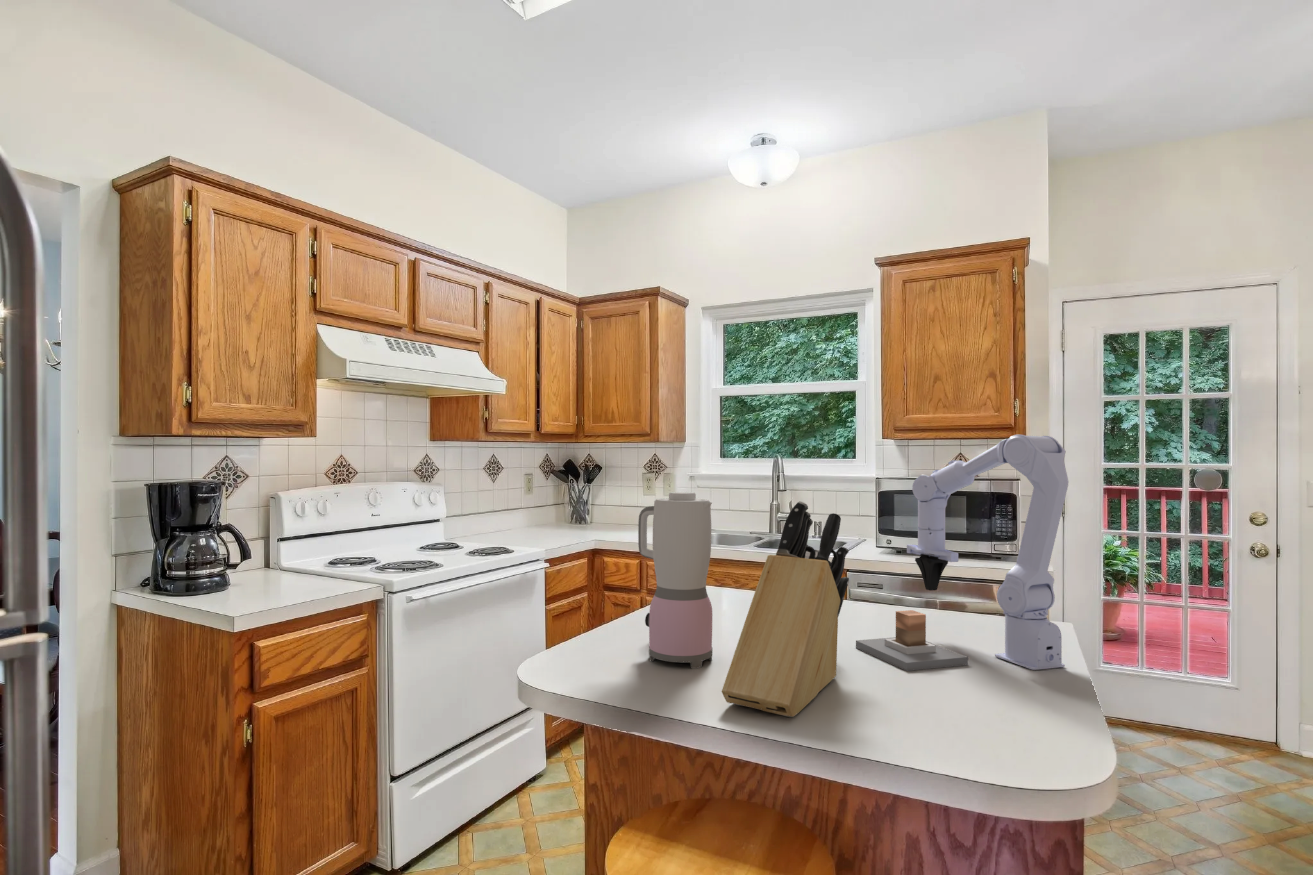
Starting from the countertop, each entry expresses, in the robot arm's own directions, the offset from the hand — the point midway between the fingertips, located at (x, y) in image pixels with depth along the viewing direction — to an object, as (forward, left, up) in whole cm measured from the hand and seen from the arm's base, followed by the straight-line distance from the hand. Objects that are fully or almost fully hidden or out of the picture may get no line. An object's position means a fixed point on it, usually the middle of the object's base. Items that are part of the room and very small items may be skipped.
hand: (931, 589), depth 154 cm
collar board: (-13, +16, -10) cm, 23 cm away
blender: (-2, +62, -10) cm, 63 cm away
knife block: (-23, +47, -10) cm, 54 cm away
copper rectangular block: (-13, +16, -8) cm, 22 cm away
